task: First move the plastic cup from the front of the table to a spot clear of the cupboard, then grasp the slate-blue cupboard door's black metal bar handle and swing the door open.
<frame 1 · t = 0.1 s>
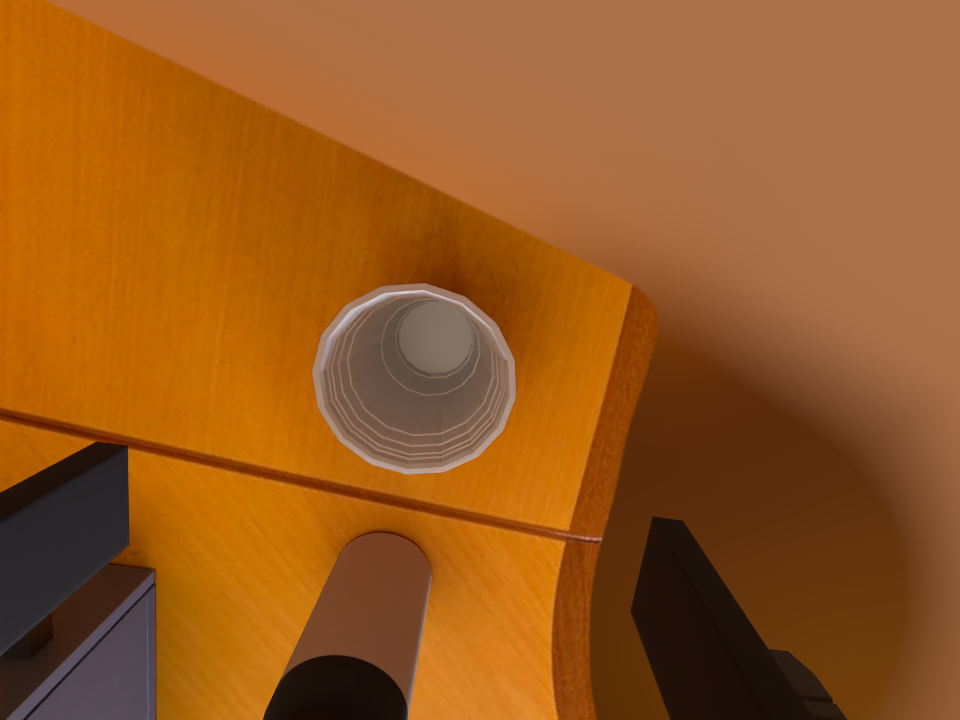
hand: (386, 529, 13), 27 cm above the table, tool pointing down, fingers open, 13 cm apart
travel mug: (384, 572, 45), on the table
cupboard: (5, 653, 47), on the table
plastic cup: (436, 340, 40), on the table
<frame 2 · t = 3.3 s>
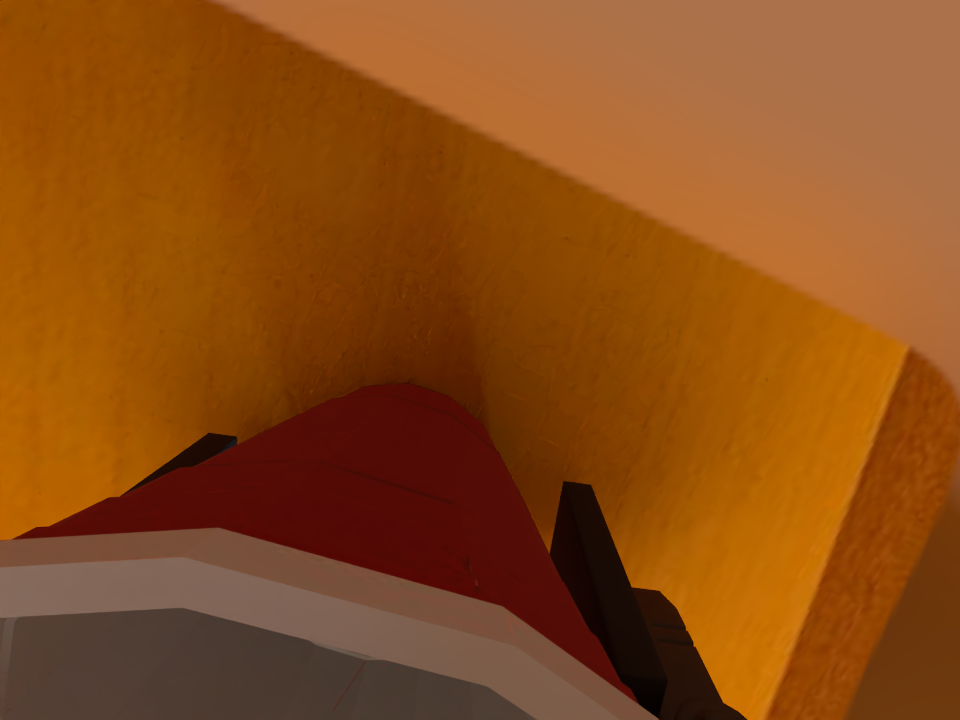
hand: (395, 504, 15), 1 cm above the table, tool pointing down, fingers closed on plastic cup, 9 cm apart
plastic cup: (405, 477, 16), on the table, touching gripper
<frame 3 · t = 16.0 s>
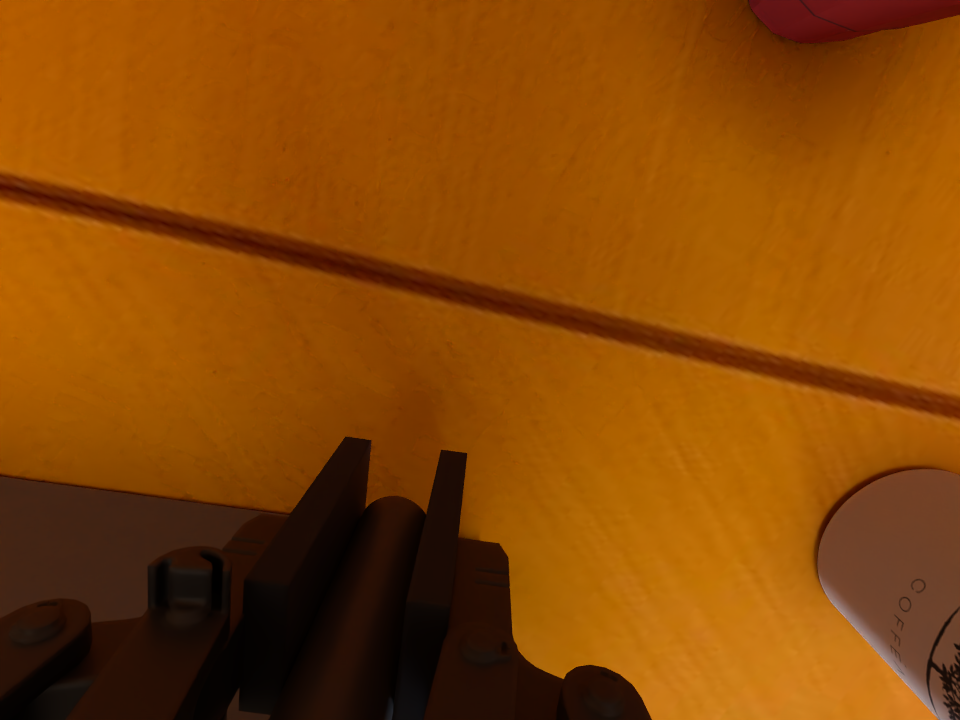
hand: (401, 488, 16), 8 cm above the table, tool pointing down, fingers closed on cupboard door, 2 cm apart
travel mug: (900, 545, 24), on the table
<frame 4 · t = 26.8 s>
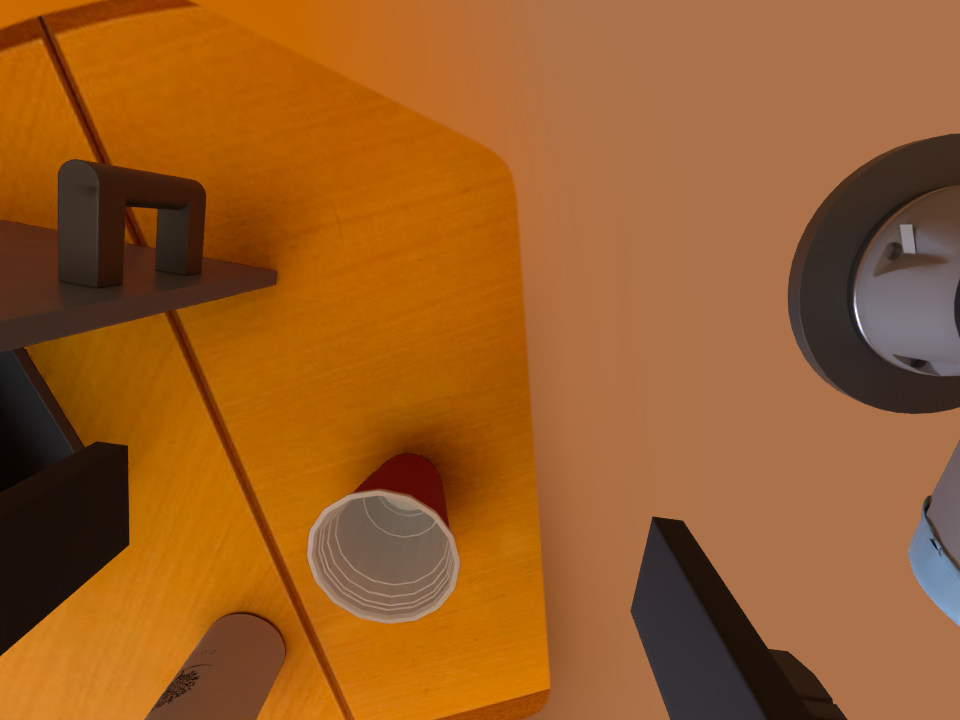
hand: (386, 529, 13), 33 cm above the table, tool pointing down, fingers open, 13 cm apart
travel mug: (247, 644, 53), on the table
plastic cup: (408, 483, 49), on the table
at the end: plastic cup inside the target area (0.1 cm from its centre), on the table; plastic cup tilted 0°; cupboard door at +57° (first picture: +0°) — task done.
